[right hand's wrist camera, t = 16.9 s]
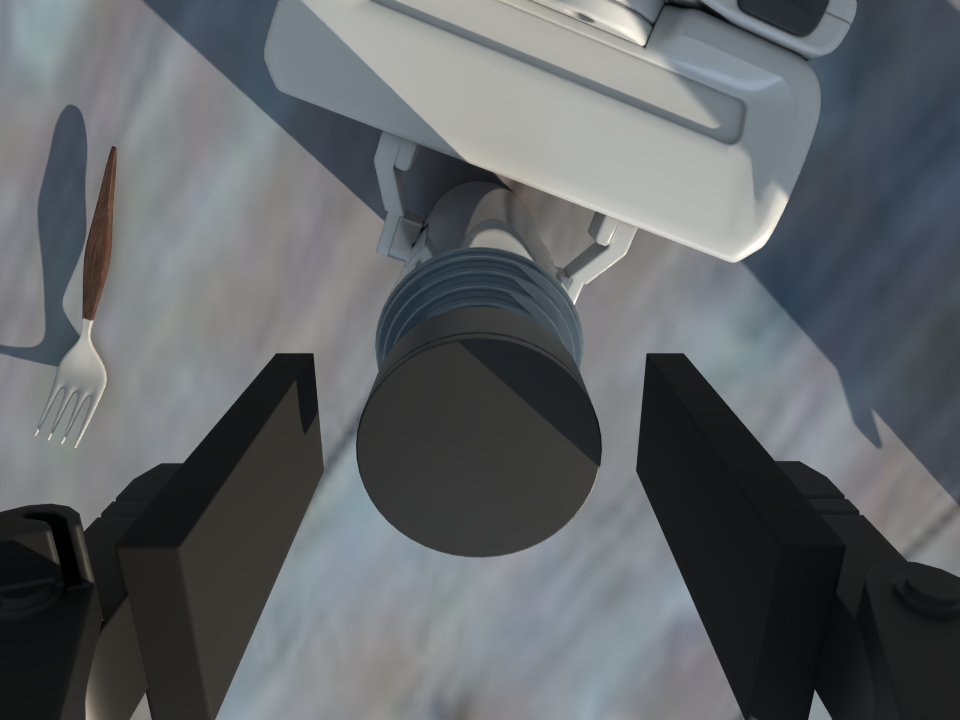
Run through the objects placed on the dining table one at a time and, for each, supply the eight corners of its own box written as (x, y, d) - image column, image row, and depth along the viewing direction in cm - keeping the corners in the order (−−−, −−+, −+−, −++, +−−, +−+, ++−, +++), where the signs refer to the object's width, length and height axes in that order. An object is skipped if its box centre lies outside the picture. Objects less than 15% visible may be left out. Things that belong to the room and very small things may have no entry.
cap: (330, 377, 14) (305, 420, 12) (515, 263, 13) (520, 290, 11) (448, 532, 16) (443, 594, 14) (623, 437, 15) (645, 488, 13)
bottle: (522, 169, 33) (598, 273, 12) (543, 276, 35) (642, 535, 14) (413, 194, 34) (296, 338, 12) (440, 299, 36) (378, 584, 14)
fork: (146, 155, 33) (126, 158, 31) (98, 433, 38) (78, 449, 36) (92, 137, 33) (69, 138, 31) (51, 419, 38) (29, 435, 36)
